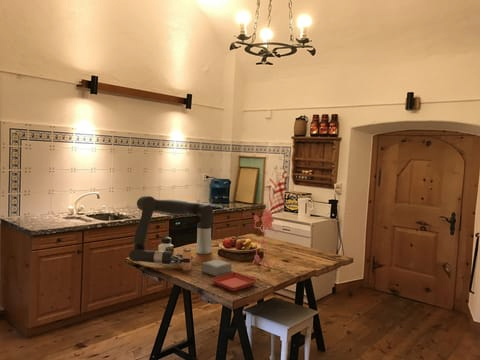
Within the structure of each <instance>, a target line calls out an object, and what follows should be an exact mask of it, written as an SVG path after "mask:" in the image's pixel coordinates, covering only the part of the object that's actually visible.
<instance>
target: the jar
mask: <svg viewBox="0 0 480 360" xmlns="http://www.w3.org/2000/svg"><path fill="white" fill-rule="evenodd" d="M182 254H183V255H182V258H183V259H184V258H185V259H190V263H185V262H183V263H181V270H182V271H184V272H185V271H191V270H192V260H191V256H192V248H190V247H189V248H188V247H186V248H185V247H184V248H183V249H182Z"/></svg>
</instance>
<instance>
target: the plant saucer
mask: <svg viewBox="0 0 480 360" xmlns="http://www.w3.org/2000/svg"><path fill="white" fill-rule="evenodd" d="M210 280H211V282H212V283H213V284H214V285H216V286H219V287H222V288H224V289H226V290H228V291H231V292H235V291H239V290H242V289H246V288H249V287H252V286H253V285H254V284H255V283H256V282H257V281H258V280H257V279H256V278H253V277H250V276H248V275H244V274H241V273H240V272H239V273H238V272H236V271H233V272H232V271H231V272H230V273H226V274H223V275H220V276H217V277H216V276H214V277H211V278H210Z"/></svg>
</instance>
